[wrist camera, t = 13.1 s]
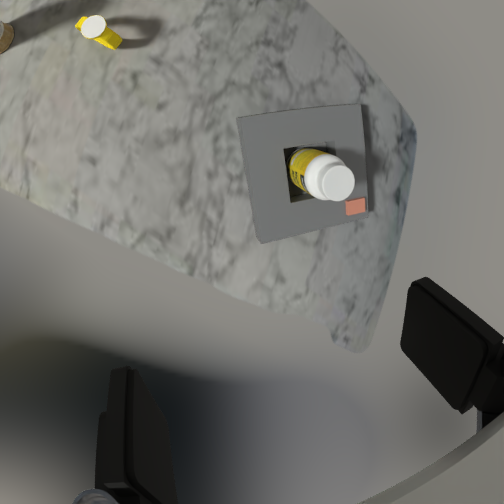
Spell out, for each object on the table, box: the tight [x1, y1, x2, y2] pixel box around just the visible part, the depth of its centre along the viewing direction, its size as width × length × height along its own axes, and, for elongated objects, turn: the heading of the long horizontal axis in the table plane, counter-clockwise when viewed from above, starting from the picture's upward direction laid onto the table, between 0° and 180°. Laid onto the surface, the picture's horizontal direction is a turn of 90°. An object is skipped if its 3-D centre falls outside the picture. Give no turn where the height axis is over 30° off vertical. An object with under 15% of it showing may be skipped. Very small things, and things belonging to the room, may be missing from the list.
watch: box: [75, 15, 122, 50], centre depth 26 cm, size 6×3×6 cm, turn 53°
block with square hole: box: [236, 104, 368, 244], centre depth 40 cm, size 16×16×3 cm
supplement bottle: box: [286, 147, 355, 201], centre depth 37 cm, size 5×5×10 cm
